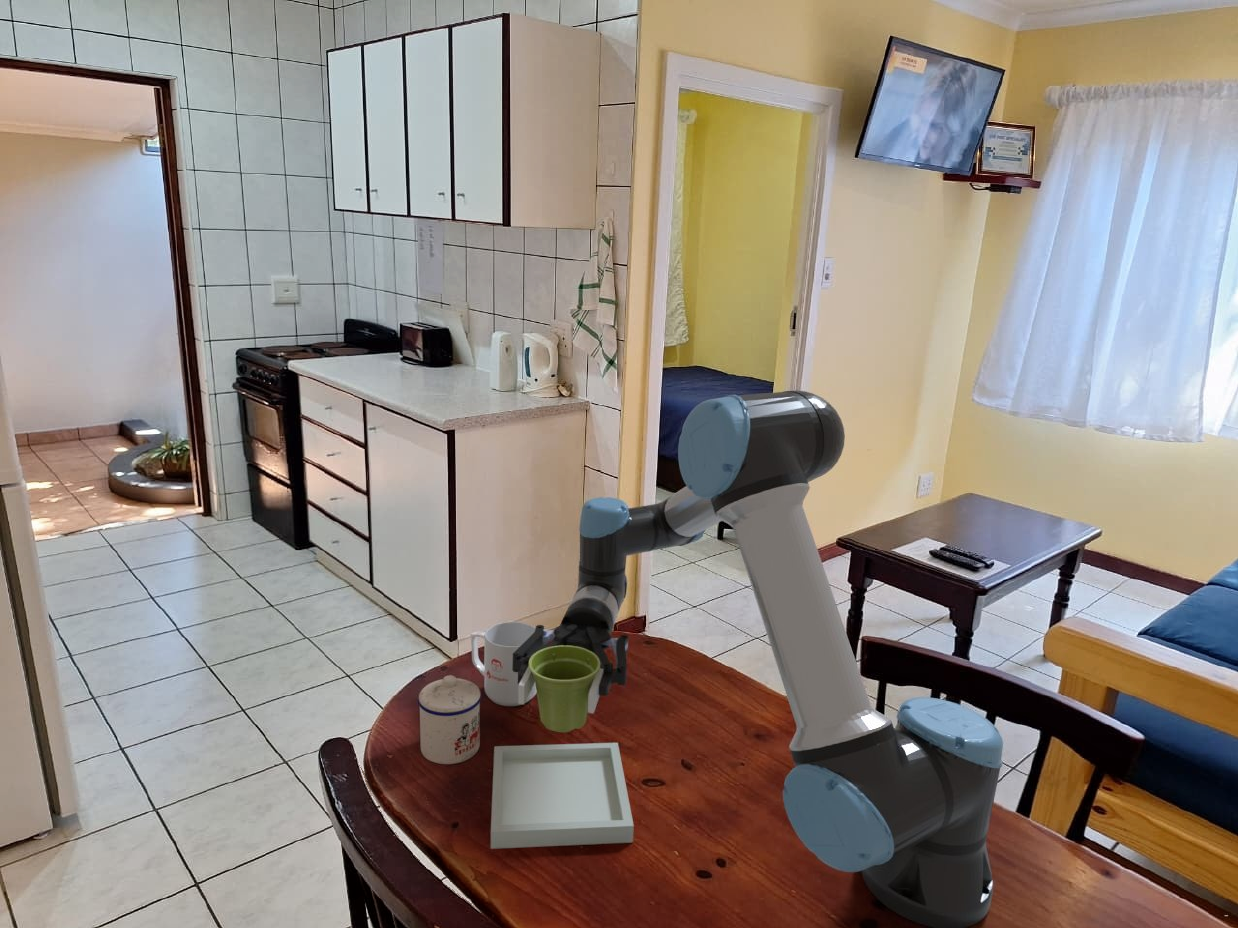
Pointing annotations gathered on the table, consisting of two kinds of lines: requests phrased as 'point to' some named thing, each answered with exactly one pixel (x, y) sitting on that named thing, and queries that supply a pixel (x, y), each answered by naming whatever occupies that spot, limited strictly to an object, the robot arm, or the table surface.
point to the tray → (559, 796)
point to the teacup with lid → (449, 720)
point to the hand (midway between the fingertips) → (556, 699)
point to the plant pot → (563, 685)
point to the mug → (501, 660)
